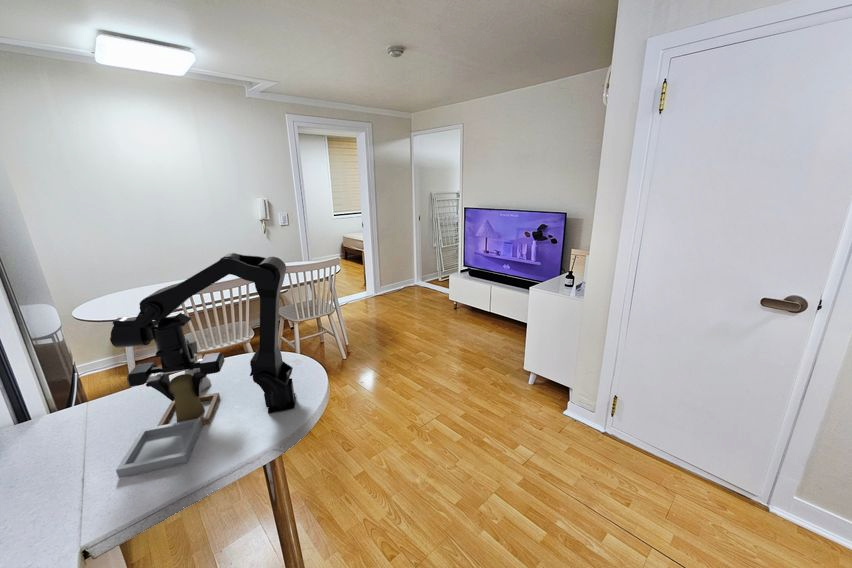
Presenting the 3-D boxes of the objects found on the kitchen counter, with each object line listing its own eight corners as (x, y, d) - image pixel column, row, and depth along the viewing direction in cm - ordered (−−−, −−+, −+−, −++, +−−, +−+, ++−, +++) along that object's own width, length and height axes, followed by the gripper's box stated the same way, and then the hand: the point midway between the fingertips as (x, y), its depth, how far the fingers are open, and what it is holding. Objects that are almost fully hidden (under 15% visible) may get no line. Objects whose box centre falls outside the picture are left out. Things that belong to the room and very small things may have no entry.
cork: (191, 424, 85) (180, 386, 81) (170, 420, 86) (159, 383, 82) (210, 408, 90) (201, 371, 87) (190, 405, 91) (180, 369, 88)
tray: (202, 425, 84) (200, 417, 83) (187, 463, 73) (184, 455, 73) (144, 436, 81) (141, 429, 80) (119, 478, 70) (115, 470, 69)
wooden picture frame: (220, 397, 94) (218, 392, 94) (209, 423, 85) (208, 418, 84) (173, 405, 91) (172, 400, 91) (156, 434, 81) (155, 429, 81)
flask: (204, 376, 104) (197, 347, 101) (216, 385, 100) (208, 354, 97) (177, 388, 98) (168, 357, 95) (188, 397, 94) (179, 366, 91)
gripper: (223, 322, 91) (234, 373, 96) (139, 333, 86) (155, 386, 91) (212, 342, 81) (225, 397, 86) (116, 355, 76) (136, 413, 81)
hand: (186, 397), depth 86 cm, fingers open, 5 cm apart
